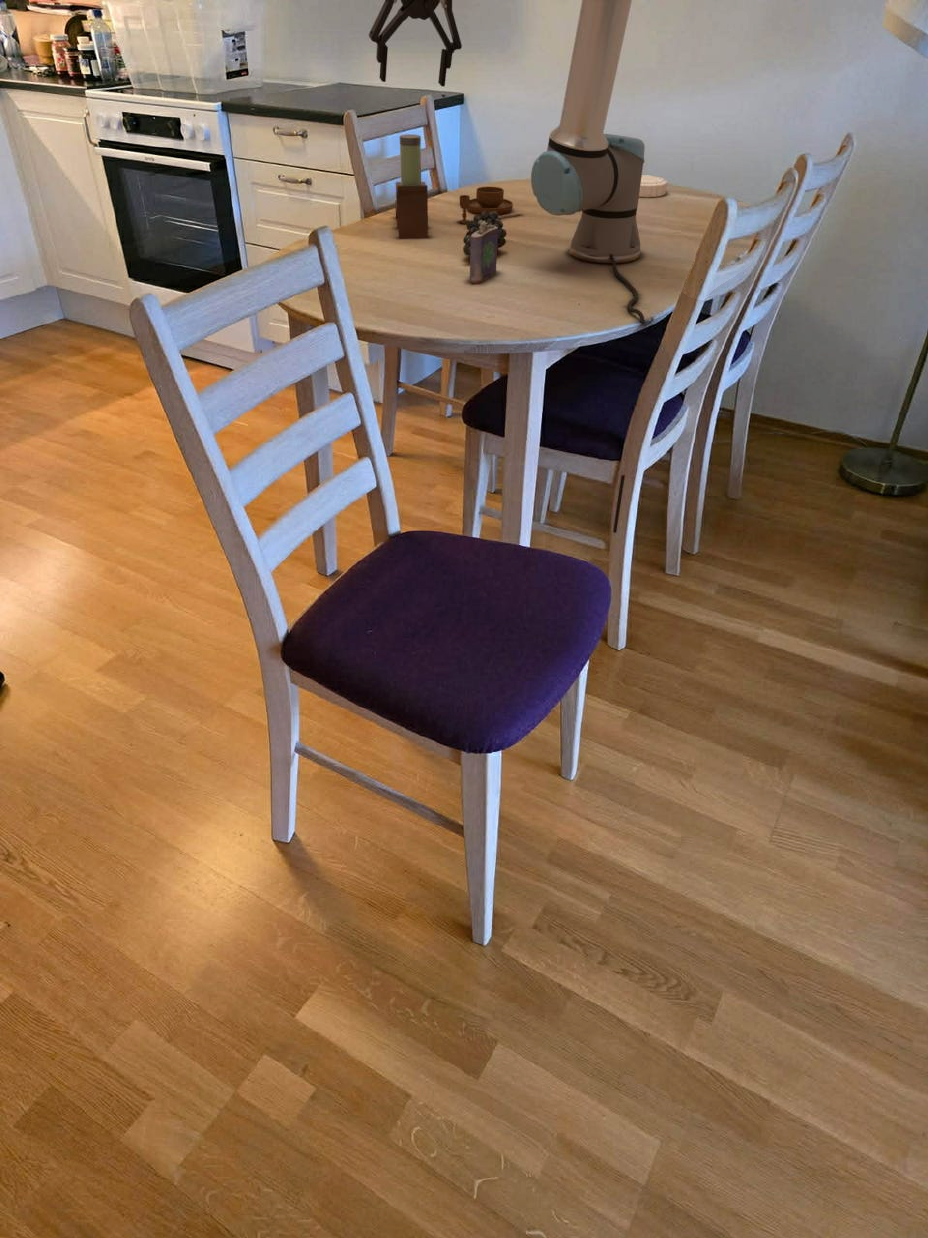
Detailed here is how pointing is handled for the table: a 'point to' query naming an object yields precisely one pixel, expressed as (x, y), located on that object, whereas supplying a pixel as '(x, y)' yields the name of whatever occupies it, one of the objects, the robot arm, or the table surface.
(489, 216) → the fruit
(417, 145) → the spice jar
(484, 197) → the place setting
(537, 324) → the table surface
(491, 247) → the flask
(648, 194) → the mooncake
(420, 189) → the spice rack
